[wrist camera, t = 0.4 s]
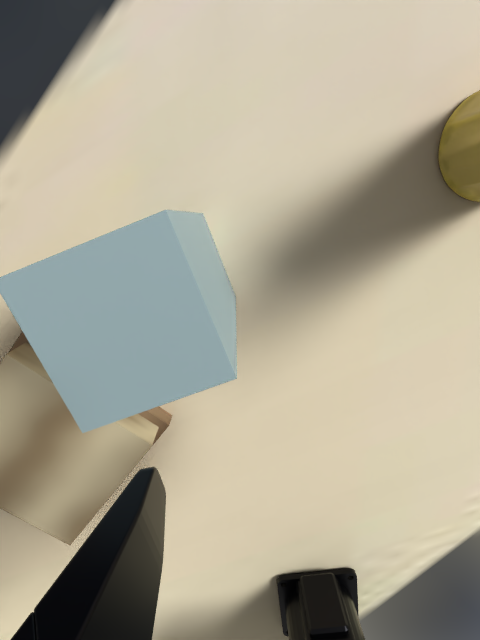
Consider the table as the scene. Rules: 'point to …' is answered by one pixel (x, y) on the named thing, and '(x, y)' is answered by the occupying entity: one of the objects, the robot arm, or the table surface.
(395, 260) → the table surface
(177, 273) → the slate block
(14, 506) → the birch slab
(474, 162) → the vase
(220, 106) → the table surface
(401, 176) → the table surface
